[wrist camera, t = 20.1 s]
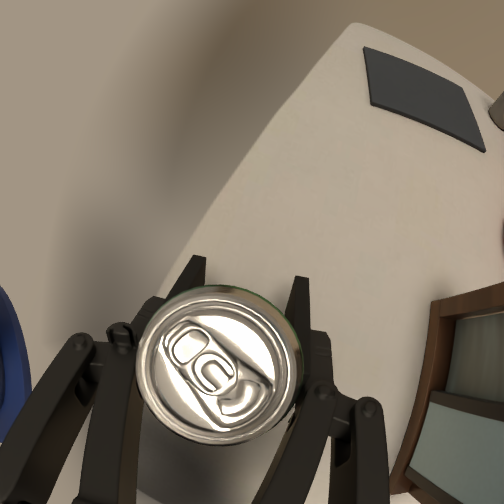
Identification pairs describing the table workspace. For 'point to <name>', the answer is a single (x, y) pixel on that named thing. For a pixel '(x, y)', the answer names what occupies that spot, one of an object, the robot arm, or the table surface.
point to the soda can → (219, 365)
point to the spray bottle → (498, 111)
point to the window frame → (456, 365)
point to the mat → (421, 96)
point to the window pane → (460, 450)
